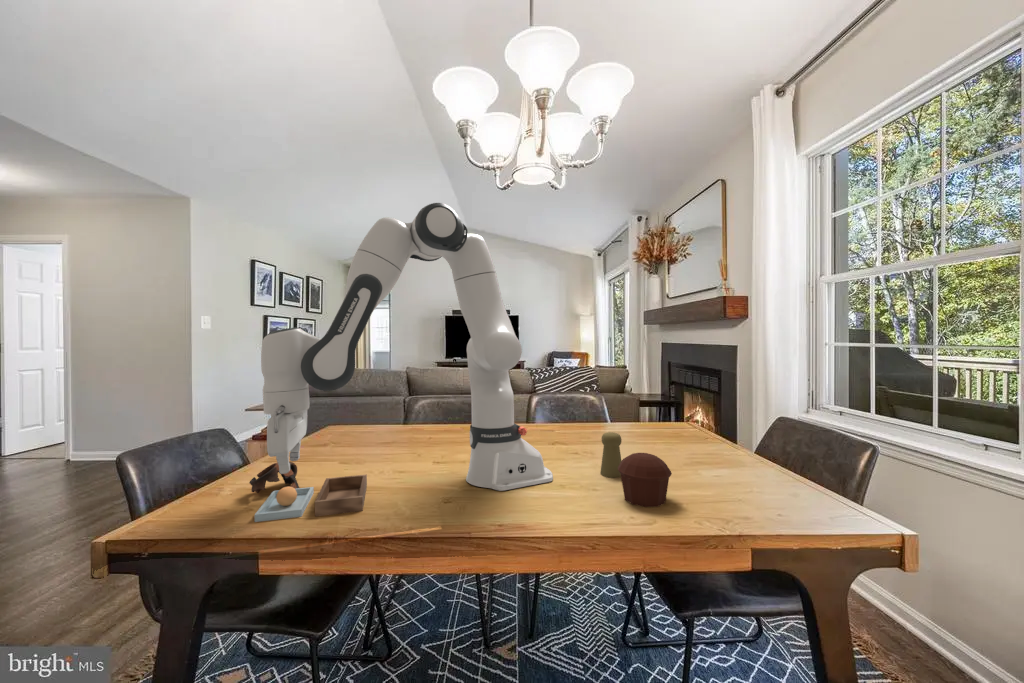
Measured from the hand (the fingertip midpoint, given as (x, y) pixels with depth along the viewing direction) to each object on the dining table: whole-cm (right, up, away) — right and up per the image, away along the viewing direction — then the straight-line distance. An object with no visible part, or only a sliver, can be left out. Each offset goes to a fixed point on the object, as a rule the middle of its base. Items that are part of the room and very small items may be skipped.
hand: (290, 466), depth 92 cm
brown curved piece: (-8, -10, +10) cm, 16 cm away
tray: (-1, -9, 0) cm, 9 cm away
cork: (+75, -9, +21) cm, 78 cm away
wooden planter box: (+10, -9, +3) cm, 14 cm away
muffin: (+78, -9, +3) cm, 79 cm away
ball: (-1, -9, 0) cm, 9 cm away
